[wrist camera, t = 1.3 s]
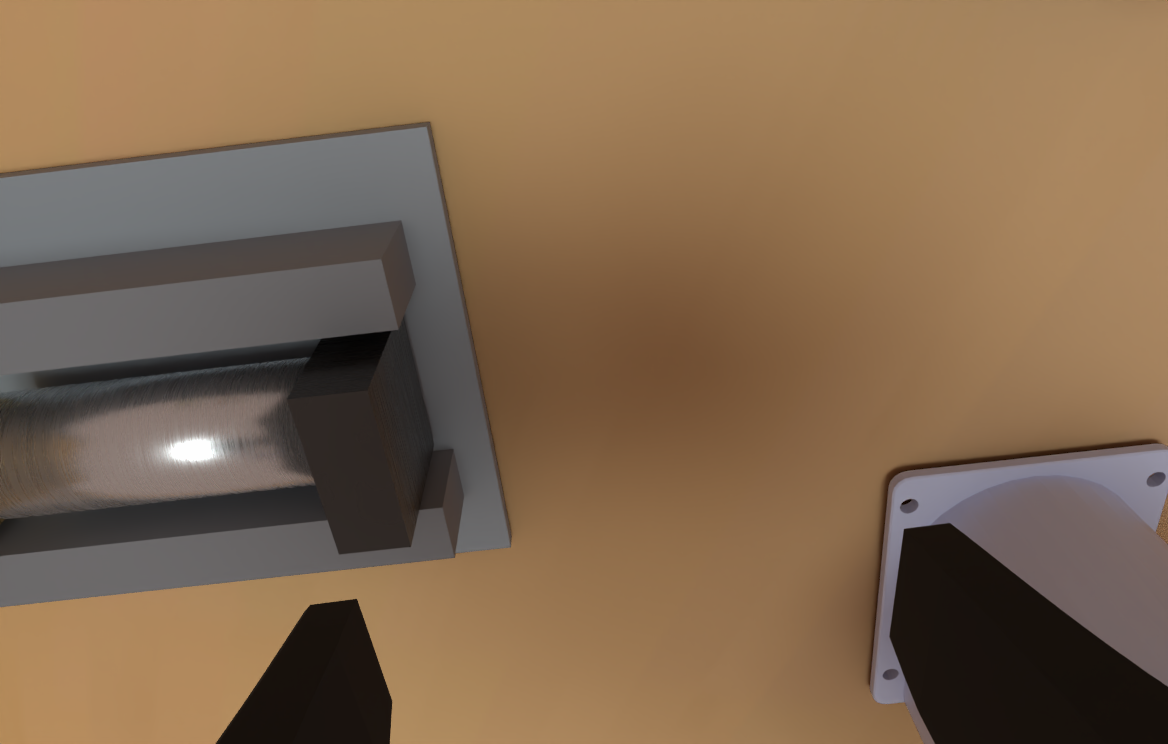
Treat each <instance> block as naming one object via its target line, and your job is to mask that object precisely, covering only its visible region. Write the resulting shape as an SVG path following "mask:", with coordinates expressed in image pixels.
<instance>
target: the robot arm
mask: <svg viewBox="0 0 1168 744" xmlns="http://www.w3.org/2000/svg"><path fill="white" fill-rule="evenodd" d="M1153 473H1154V474H1153ZM1152 474H1153V475H1152ZM1150 475H1152V476H1151V477H1149V476H1150ZM1148 477H1149V478H1148ZM1167 493H1168V446H1166V445H1164V444H1147V445H1138V446H1129V447H1120V448H1111V449H1102V450H1093V451H1084V452H1074V453H1065V454H1056V455H1047V456H1038V457H1029V458H1020V459H1011V460H1001V461H992V462H983V463H974V464H965V465H956V466H947V467H937V468H928V469H919V470H910V471H905V472H901V473H899V474H898V475H896V476H894V478H893V479H892V480H891V481H890V484H889V487H888V498H887V509H886V519H885V530H884V541H883V551H882V562H881V573H880V583H879V594H878V605H877V616H876V626H875V637H874V648H873V658H872V669H871V680H870V692H871V694H872V696H873V699H874V700H875V701H876V702H878V703H881V704H892V703H902V702H905V704H906V706H907V708H908V710H909V713H910V715H911V717H912V719H913V721H914V723H915V726H916V728H917V730H918V732H919V734H920V737H921V739H922V741H923V743H924V744H1168V544H1167V543H1166V542H1165V541H1164V540H1163V539H1162V538H1161V537H1160V536H1159V535H1158V534H1157V533H1156V529H1157V526H1158V523H1159V520H1160V516H1161V513H1162V510H1163V507H1164V503H1165V500H1166V497H1167ZM908 499H912V500H911V501H910V502H909V503H908V504H905V505H901V503H903V502H904V501H905V500H908ZM391 712H392V699H391V696H390V694H389V691H388V688H387V685H386V682H385V679H384V676H383V673H382V670H381V667H380V665H379V662H378V659H377V656H376V653H375V650H374V647H373V644H372V641H371V638H370V636H369V633H368V630H367V627H366V624H365V621H364V618H363V615H362V612H361V610H360V607H359V604H358V601H357V599H353V600H345V601H338V602H330V603H322V604H314V605H310V606H309V607H308V608H307V610H306V611H305V612H304V613H303V615H302V616H301V618H300V619H299V621H298V622H297V624H296V625H295V627H294V629H293V630H292V632H291V633H290V635H289V636H288V638H287V639H286V641H285V642H284V644H283V645H282V647H281V648H280V650H279V651H278V653H277V655H276V656H275V658H274V659H273V661H272V662H271V664H270V665H269V667H268V668H267V670H266V671H265V673H264V674H263V676H262V677H261V679H260V680H259V682H258V683H257V685H256V686H255V688H254V689H253V691H252V692H251V694H250V695H249V697H248V698H247V700H246V701H245V703H244V704H243V705H242V707H241V708H240V710H239V711H238V713H237V714H236V715H235V717H234V718H233V720H232V721H231V723H230V724H229V725H228V727H227V728H226V730H225V731H224V732H223V734H222V735H221V737H220V738H219V740H218V741H217V742H216V744H390V728H391Z"/></svg>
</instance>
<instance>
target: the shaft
mask: <svg viewBox="0 0 1168 744" xmlns="http://www.w3.org/2000/svg"><path fill="white" fill-rule="evenodd" d="M433 448H434V441H433V437H432V433H431V429H430V424H429V420H428V416H427V412H426V408H425V404H424V400H423V395H422V391H421V387H420V383H419V379H418V375H417V371H416V366H415V362H414V358H413V354H412V350H411V346H410V342H409V337H408V333H407V329H406V325H405V321H404V317H403V319H402V322H401V325H400V327H399V330H392V331H383V332H374V333H365V334H357V335H348V336H339V337H331V338H322V339H321V340H320V342H319V343H318V345H317V347H316V349H315V350H314V352H313V354H312V356H311V357H307V358H298V359H289V360H281V361H272V362H263V363H255V364H246V365H237V366H228V367H220V368H211V369H202V370H193V371H185V372H176V373H167V374H158V375H150V376H141V377H132V378H123V379H115V380H106V381H97V382H88V383H80V384H71V385H62V386H53V387H45V388H36V389H27V390H18V391H10V392H1V393H0V518H2V519H14V518H23V517H32V516H41V515H50V514H59V513H68V512H77V511H86V510H95V509H104V508H113V507H122V506H131V505H140V504H149V503H158V502H167V501H176V500H185V499H194V498H203V497H213V496H222V495H231V494H240V493H249V492H258V491H267V490H276V489H285V488H294V487H303V486H312V485H316V488H317V491H318V494H319V497H320V500H321V503H322V506H323V509H324V512H325V515H326V518H327V521H328V523H329V526H330V529H331V532H332V535H333V538H334V541H335V544H336V547H337V550H338V553H339V555H341V554H350V553H359V552H368V551H377V550H387V549H396V548H405V547H411V545H412V540H413V536H414V531H415V527H416V523H417V518H418V514H419V510H420V505H421V501H422V496H423V492H424V488H425V483H426V479H427V475H428V470H429V466H430V461H431V457H432V453H433Z"/></svg>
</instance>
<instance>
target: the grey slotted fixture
mask: <svg viewBox="0 0 1168 744" xmlns="http://www.w3.org/2000/svg"><path fill="white" fill-rule="evenodd" d="M403 317H404V321H405V325H406V329H407V333H408V337H409V342H410V346H411V350H412V354H413V358H414V362H415V366H416V371H417V375H418V379H419V383H420V387H421V391H422V395H423V400H424V404H425V408H426V412H427V416H428V420H429V424H430V429H431V433H432V437H433V441H434V448H433V453H432V457H431V461H430V466H429V470H428V475H427V479H426V483H425V488H424V492H423V496H422V501H421V505H420V510H419V514H418V518H417V523H416V527H415V531H414V536H413V540H412V545H411V547H405V548H396V549H387V550H377V551H368V552H359V553H350V554H341V555H339V553H338V550H337V547H336V544H335V541H334V538H333V535H332V532H331V529H330V526H329V523H328V521H327V518H326V515H325V512H324V509H323V506H322V503H321V500H320V497H319V494H318V491H317V488H316V485H312V486H303V487H294V488H285V489H276V490H267V491H258V492H249V493H240V494H231V495H222V496H213V497H203V498H194V499H185V500H176V501H167V502H158V503H149V504H140V505H131V506H122V507H113V508H104V509H95V510H86V511H77V512H68V513H59V514H50V515H41V516H32V517H23V518H14V519H5V520H4V521H3V522H2V523H1V524H0V607H6V606H15V605H24V604H33V603H42V602H52V601H61V600H70V599H79V598H88V597H98V596H107V595H116V594H125V593H135V592H144V591H153V590H162V589H171V588H181V587H190V586H199V585H208V584H217V583H227V582H236V581H245V580H254V579H264V578H273V577H282V576H291V575H300V574H310V573H319V572H328V571H337V570H346V569H356V568H365V567H374V566H383V565H393V564H402V563H411V562H420V561H429V560H439V559H448V558H455V553H463V552H472V551H481V550H490V549H499V548H509V547H511V537H512V536H511V530H510V525H509V520H508V515H507V510H506V505H505V500H504V495H503V490H502V485H501V480H500V475H499V470H498V465H497V460H496V455H495V450H494V445H493V439H492V434H491V429H490V424H489V419H488V414H487V409H486V404H485V399H484V394H483V389H482V384H481V379H480V374H479V369H478V364H477V359H476V354H475V348H474V343H473V338H472V333H471V328H470V323H469V318H468V313H467V308H466V303H465V298H464V293H463V288H462V283H461V278H460V273H459V268H458V263H457V257H456V252H455V247H454V242H453V237H452V232H451V227H450V222H449V217H448V212H447V207H446V202H445V197H444V192H443V187H442V182H441V177H440V172H439V166H438V161H437V156H436V151H435V146H434V141H433V136H432V131H431V126H430V122H426V123H417V124H409V125H401V126H392V127H384V128H376V129H367V130H359V131H351V132H342V133H334V134H326V135H318V136H309V137H301V138H293V139H284V140H276V141H268V142H259V143H251V144H243V145H234V146H226V147H218V148H210V149H201V150H193V151H185V152H176V153H168V154H160V155H151V156H143V157H135V158H126V159H118V160H110V161H102V162H93V163H85V164H77V165H68V166H60V167H52V168H43V169H35V170H27V171H18V172H10V173H2V174H0V393H1V392H10V391H18V390H27V389H36V388H45V387H53V386H62V385H71V384H80V383H88V382H97V381H106V380H115V379H123V378H132V377H141V376H150V375H158V374H167V373H176V372H185V371H193V370H202V369H211V368H220V367H228V366H237V365H246V364H255V363H263V362H272V361H281V360H289V359H298V358H307V357H311V356H312V354H313V352H314V350H315V349H316V347H317V345H318V343H319V342H320V340H321V339H322V338H331V337H339V336H348V335H357V334H365V333H374V332H383V331H392V330H399V327H400V325H401V322H402V319H403Z"/></svg>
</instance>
